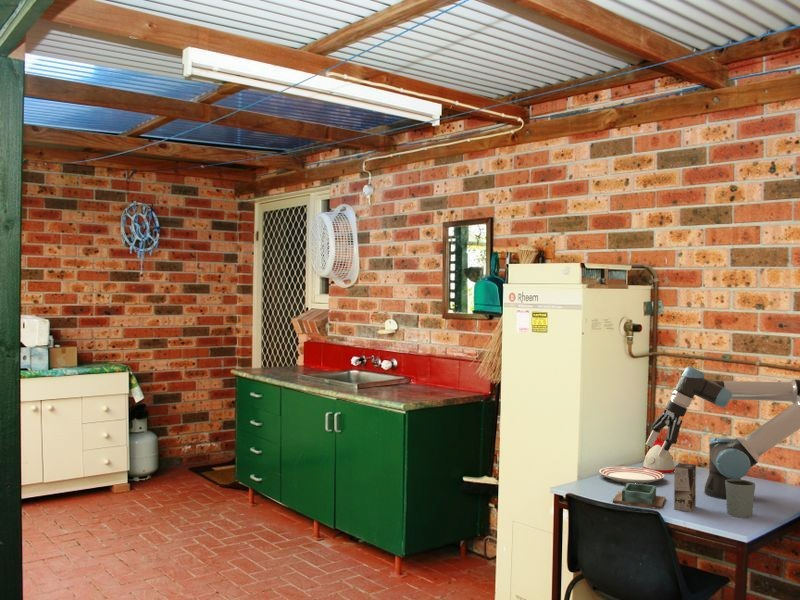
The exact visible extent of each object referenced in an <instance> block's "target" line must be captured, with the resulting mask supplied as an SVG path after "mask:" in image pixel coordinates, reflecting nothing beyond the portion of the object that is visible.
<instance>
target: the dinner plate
mask: <svg viewBox="0 0 800 600" xmlns="http://www.w3.org/2000/svg"><path fill="white" fill-rule="evenodd" d="M598 471H599V474H601V475H602V476H603V477H605V478H608V479H611V480H612V481H614V482H617V481H618V483H621V482H623V484H627V483H634V484H635V483H636V484H643V485H645V484H644V483H647V484H651V483H653V482H657V481H660V480H661V479H664V477H665V474H662V473H660V472H657V471H654V470H649V469H643V467H632V466H608V467H603V468H601V469H599V470H598ZM650 482H651V483H650Z"/></svg>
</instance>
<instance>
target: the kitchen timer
mask: <svg viewBox="0 0 800 600" xmlns="http://www.w3.org/2000/svg"><path fill="white" fill-rule="evenodd" d="M664 442H665V439H662V438H659V437H657V439H656V441H655V443H654V445H653V447H650V449H649V450H648V451H647V453H646V455H645V456H644V460H643V466H642V468H643V469H649V470H654V471H657V472H660V473H669V474H672V473H671V472H674V471H675V466H676V465H675V463H674V456H673V454H671V452H670V450H669V451H668V453H667V455H666V457H665V459H664V458H662V457H660V456H658V454H659V452H660V450H661V448H662V446H663V444H664ZM674 473H675V472H674Z"/></svg>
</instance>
